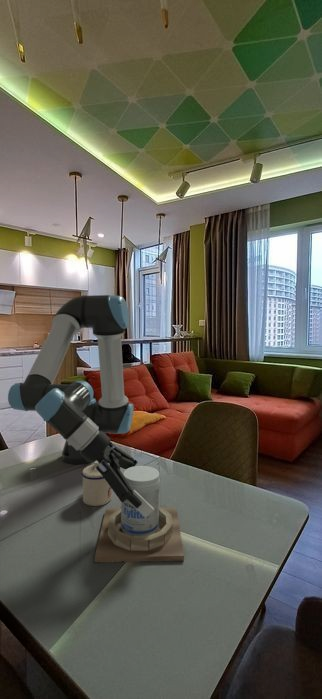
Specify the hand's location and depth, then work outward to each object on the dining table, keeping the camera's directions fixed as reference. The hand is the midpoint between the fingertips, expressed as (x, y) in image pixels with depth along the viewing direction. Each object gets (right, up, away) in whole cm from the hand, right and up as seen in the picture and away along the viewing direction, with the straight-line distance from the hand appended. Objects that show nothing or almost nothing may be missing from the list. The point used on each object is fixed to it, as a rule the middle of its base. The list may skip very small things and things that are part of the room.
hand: (149, 498), depth 84 cm
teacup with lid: (-17, -8, +19) cm, 27 cm away
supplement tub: (-3, -8, +1) cm, 9 cm away
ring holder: (-2, -9, +1) cm, 10 cm away
